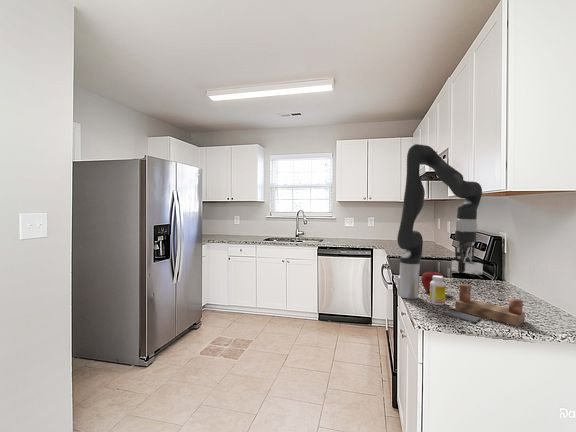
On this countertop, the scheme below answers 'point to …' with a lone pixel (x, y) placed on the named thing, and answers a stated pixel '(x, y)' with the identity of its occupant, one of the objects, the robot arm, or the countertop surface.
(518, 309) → the plane body
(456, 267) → the lever cap
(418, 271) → the robot arm
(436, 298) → the supplement bottle
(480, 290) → the countertop surface
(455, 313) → the rubber mat
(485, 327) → the countertop surface
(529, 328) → the countertop surface
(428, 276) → the apple
